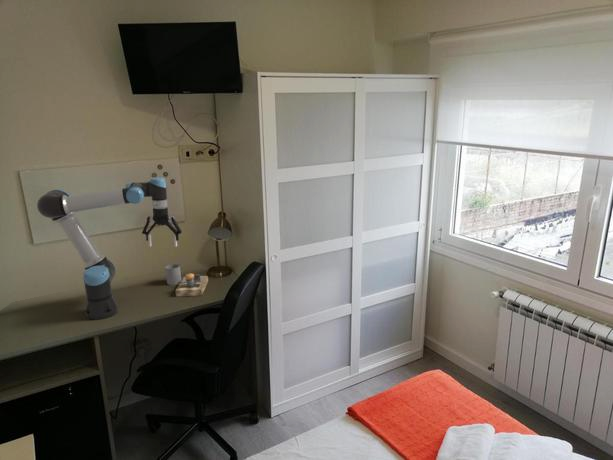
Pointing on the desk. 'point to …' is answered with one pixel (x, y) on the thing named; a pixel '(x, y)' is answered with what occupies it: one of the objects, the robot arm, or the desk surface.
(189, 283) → the orange grey cylinder
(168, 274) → the cup
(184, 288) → the socket board
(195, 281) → the shutter
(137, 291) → the desk surface
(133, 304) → the desk surface
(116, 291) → the desk surface
